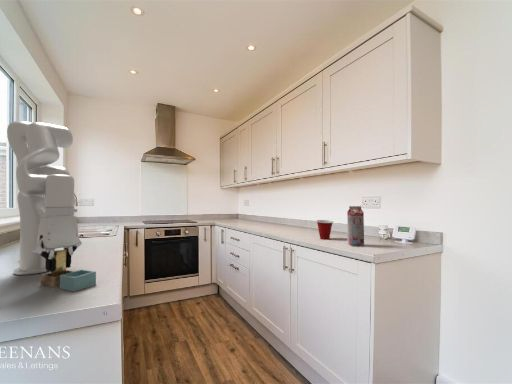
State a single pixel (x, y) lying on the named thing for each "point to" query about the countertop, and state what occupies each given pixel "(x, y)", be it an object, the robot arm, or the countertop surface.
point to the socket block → (51, 279)
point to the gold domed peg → (59, 262)
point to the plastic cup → (324, 228)
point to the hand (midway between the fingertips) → (58, 268)
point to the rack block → (77, 280)
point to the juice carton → (355, 226)
